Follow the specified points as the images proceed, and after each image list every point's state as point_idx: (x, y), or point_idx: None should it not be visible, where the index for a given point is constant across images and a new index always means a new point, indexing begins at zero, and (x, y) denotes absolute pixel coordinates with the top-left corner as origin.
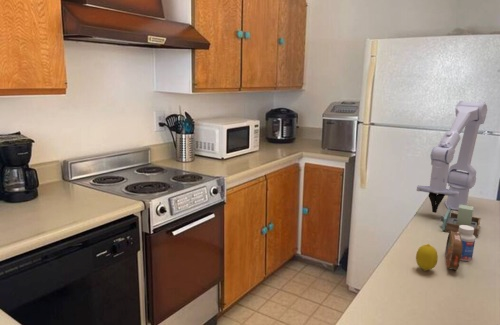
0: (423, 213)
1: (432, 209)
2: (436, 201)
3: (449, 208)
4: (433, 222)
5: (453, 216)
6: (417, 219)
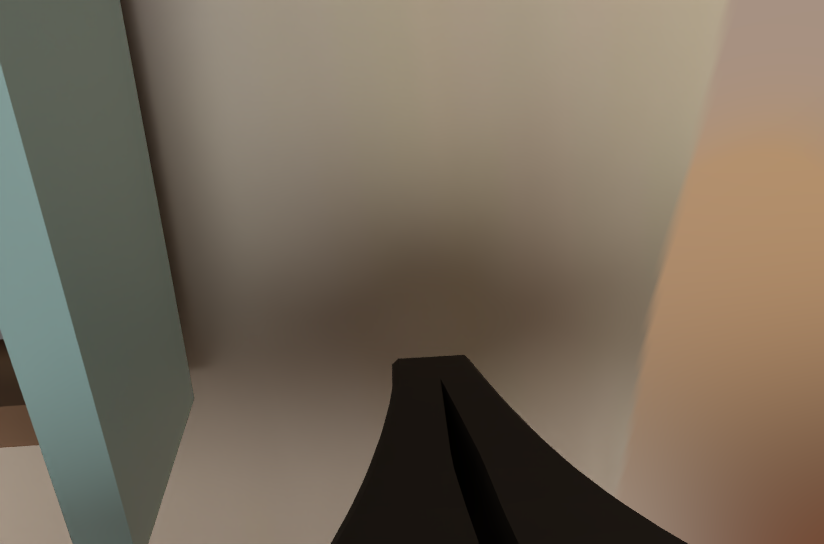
0: (585, 396)
1: (482, 378)
2: (458, 538)
3: (86, 493)
4: (373, 21)
5: None
6: (689, 4)
